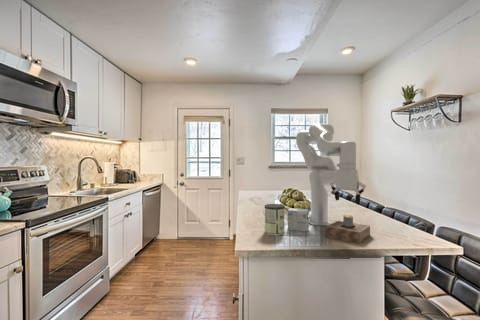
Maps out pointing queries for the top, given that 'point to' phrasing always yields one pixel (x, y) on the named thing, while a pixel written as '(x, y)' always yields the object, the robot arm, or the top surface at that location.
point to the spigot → (348, 221)
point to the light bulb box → (298, 219)
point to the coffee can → (274, 219)
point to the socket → (347, 232)
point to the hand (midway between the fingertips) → (347, 201)
